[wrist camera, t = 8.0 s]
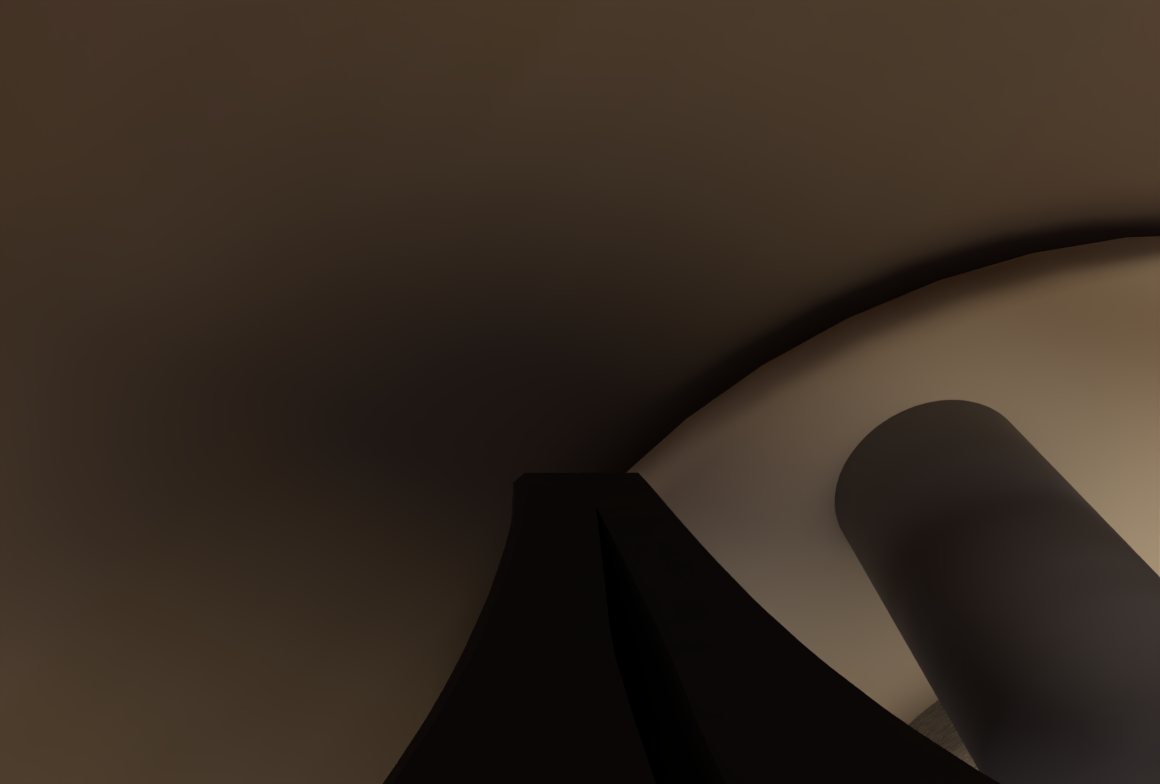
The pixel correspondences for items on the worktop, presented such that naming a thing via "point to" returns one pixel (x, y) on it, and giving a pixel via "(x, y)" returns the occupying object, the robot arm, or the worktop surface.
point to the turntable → (961, 506)
